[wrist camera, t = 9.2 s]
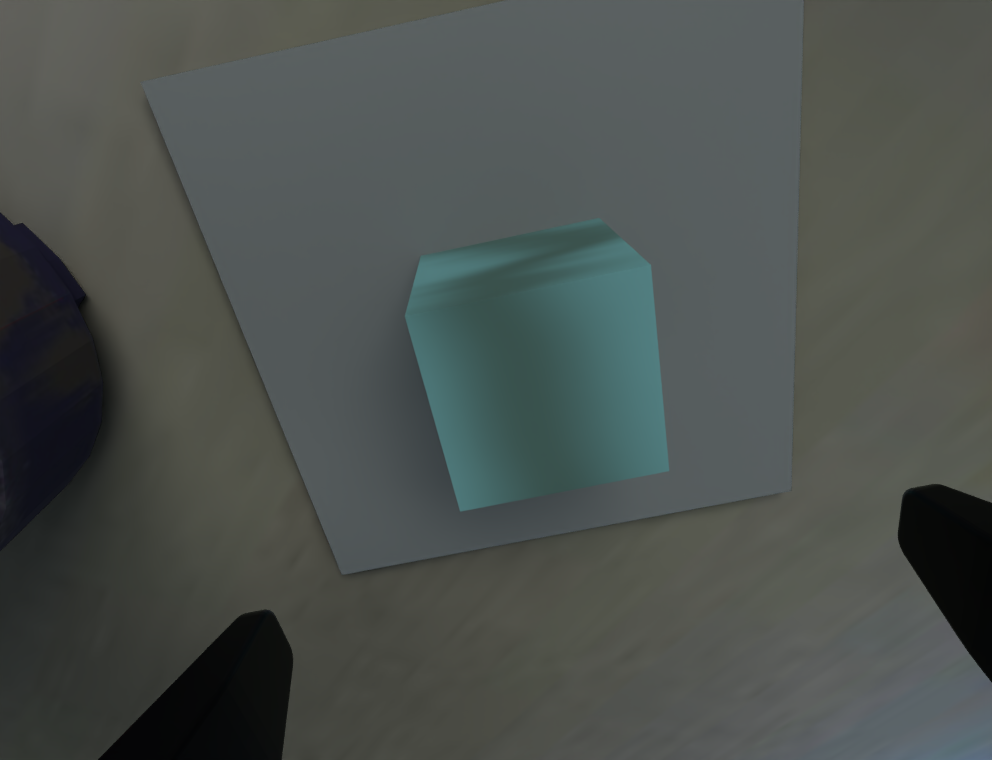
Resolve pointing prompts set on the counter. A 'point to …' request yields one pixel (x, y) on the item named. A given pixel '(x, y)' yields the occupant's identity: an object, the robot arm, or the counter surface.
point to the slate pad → (504, 236)
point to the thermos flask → (41, 379)
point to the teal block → (540, 362)
